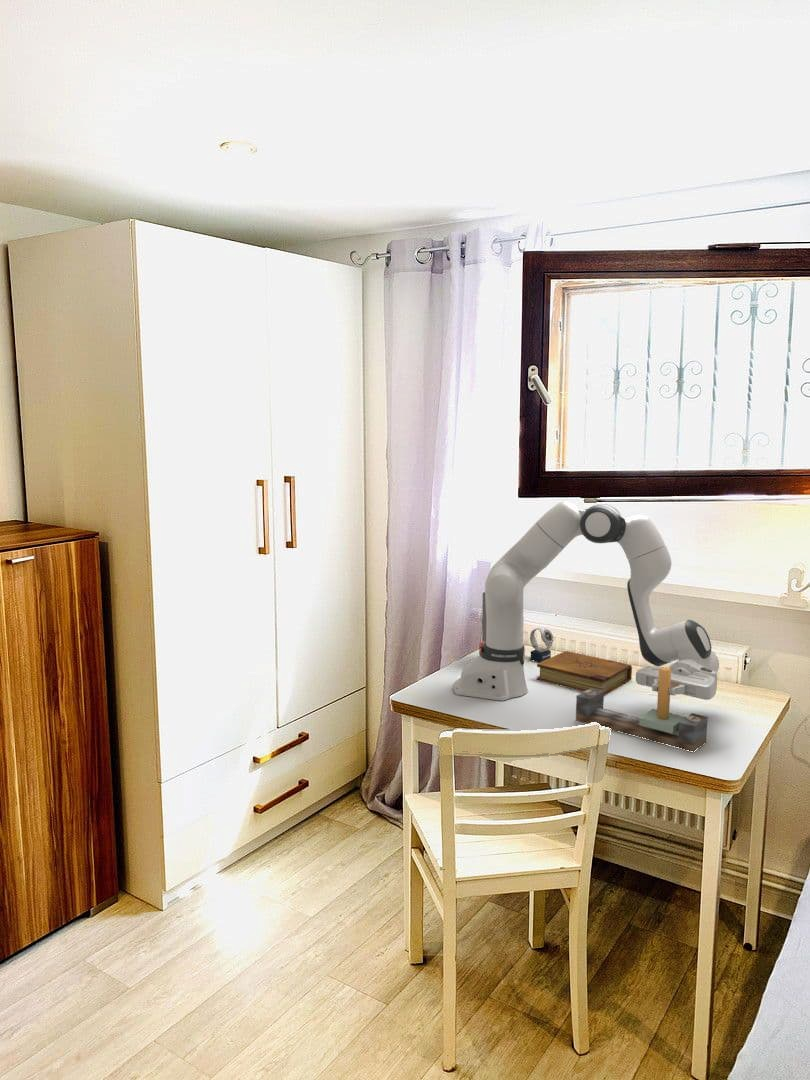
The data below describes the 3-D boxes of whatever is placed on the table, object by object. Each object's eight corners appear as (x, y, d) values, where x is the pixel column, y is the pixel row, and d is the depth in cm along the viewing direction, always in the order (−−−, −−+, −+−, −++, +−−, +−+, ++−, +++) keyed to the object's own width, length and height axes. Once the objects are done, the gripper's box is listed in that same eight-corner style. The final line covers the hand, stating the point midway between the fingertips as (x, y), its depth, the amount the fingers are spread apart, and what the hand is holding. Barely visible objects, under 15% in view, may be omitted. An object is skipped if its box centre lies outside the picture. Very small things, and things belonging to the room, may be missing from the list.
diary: (631, 682, 259) (632, 664, 258) (603, 698, 245) (603, 679, 244) (566, 666, 274) (567, 649, 273) (536, 680, 260) (537, 663, 259)
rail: (575, 720, 227) (576, 694, 225) (590, 711, 233) (590, 686, 231) (693, 752, 205) (695, 724, 204) (706, 742, 211) (707, 715, 210)
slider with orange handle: (639, 724, 214) (641, 669, 212) (652, 716, 220) (655, 661, 217) (672, 733, 208) (675, 676, 206) (685, 724, 214) (688, 668, 212)
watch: (546, 664, 275) (546, 632, 273) (526, 659, 280) (526, 627, 278) (555, 660, 279) (556, 628, 277) (535, 655, 284) (536, 624, 282)
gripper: (648, 657, 228) (625, 670, 218) (722, 673, 215) (702, 687, 205) (647, 679, 229) (624, 693, 219) (721, 696, 216) (700, 711, 206)
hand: (662, 690), depth 212 cm, fingers closed on slider with orange handle, 3 cm apart
